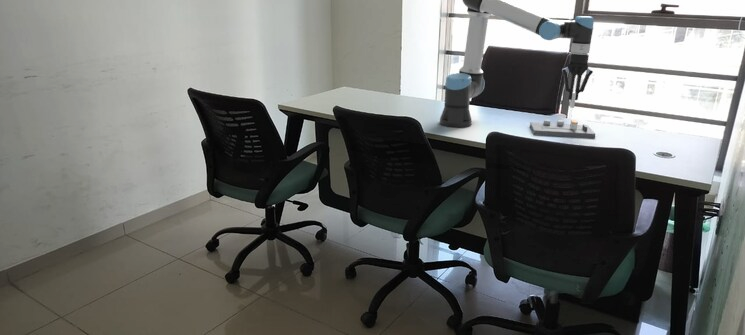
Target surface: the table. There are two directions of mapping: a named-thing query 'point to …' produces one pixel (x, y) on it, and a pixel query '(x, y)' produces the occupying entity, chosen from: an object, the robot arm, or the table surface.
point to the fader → (573, 124)
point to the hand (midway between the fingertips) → (571, 107)
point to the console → (561, 129)
